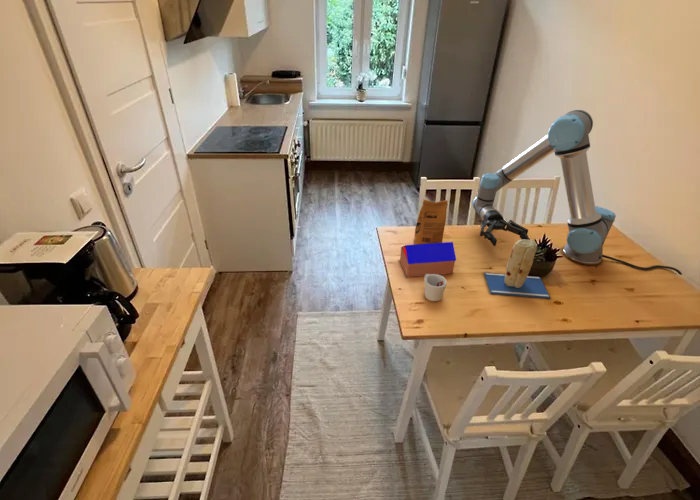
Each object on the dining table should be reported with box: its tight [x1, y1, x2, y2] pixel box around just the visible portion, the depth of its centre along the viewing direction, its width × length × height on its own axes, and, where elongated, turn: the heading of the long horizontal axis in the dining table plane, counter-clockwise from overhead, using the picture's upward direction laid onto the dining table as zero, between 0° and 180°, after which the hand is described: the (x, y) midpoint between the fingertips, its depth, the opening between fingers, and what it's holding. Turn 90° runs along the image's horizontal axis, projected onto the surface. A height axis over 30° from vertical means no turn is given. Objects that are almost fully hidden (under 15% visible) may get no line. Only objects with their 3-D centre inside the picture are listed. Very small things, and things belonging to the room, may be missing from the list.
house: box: [399, 241, 457, 278], centre depth 158 cm, size 12×20×12 cm, turn 99°
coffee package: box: [414, 199, 449, 245], centre depth 171 cm, size 10×12×22 cm
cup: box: [423, 274, 448, 302], centre depth 144 cm, size 11×8×8 cm
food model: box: [504, 239, 538, 288], centre depth 146 cm, size 10×7×20 cm
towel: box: [484, 272, 551, 300], centre depth 152 cm, size 22×13×1 cm, turn 84°
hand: (512, 242), depth 152 cm, fingers open, 13 cm apart
